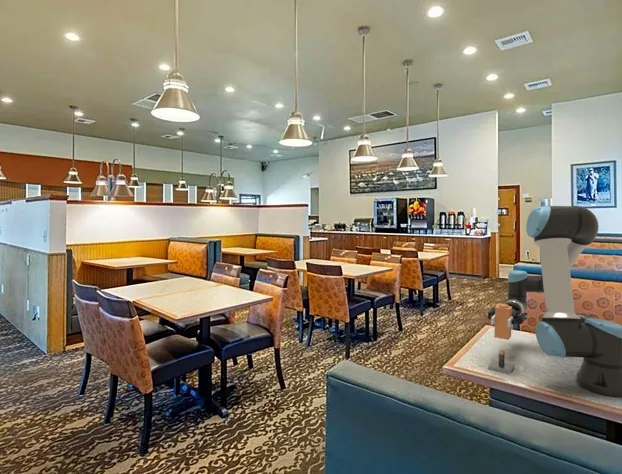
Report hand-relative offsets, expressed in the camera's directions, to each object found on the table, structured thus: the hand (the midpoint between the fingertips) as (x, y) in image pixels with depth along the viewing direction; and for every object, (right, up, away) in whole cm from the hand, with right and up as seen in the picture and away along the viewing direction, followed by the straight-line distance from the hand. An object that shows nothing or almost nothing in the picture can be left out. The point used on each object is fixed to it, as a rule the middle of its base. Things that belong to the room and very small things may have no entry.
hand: (500, 322), depth 144 cm
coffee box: (+46, -18, +20) cm, 53 cm away
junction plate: (+2, -19, +4) cm, 19 cm away
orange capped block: (+3, -7, +5) cm, 9 cm away
